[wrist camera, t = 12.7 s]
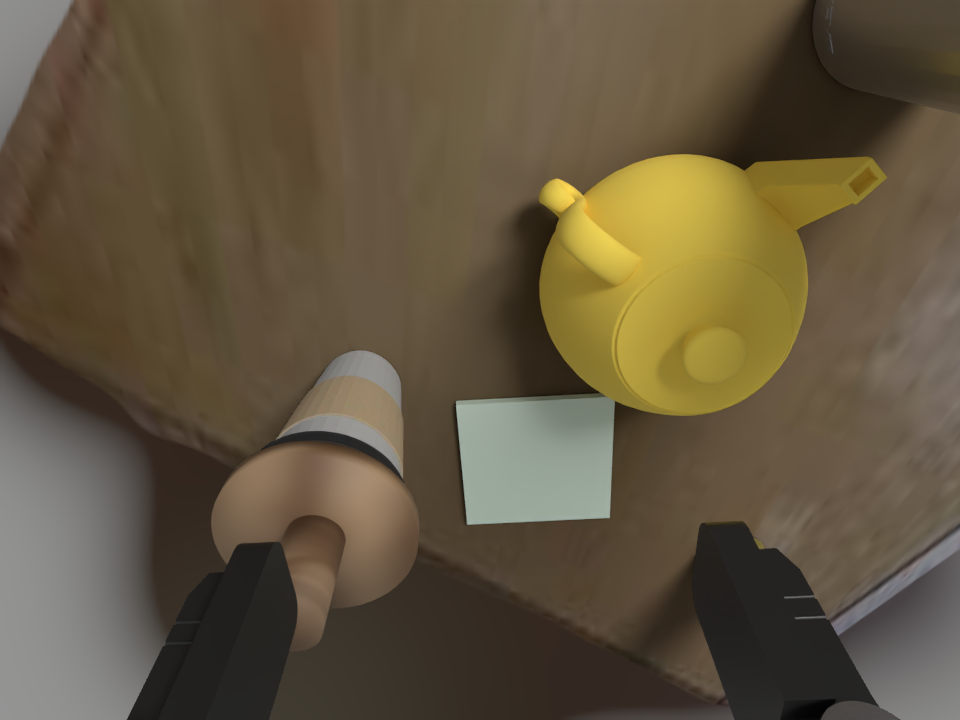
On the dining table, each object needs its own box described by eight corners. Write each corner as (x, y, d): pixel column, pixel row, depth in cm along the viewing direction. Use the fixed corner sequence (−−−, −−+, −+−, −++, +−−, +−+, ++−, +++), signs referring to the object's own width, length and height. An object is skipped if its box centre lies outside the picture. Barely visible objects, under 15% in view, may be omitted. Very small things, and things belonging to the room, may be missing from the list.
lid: (408, 435, 33) (392, 533, 27) (429, 588, 38) (419, 699, 32) (195, 446, 33) (131, 545, 27) (245, 596, 39) (201, 708, 33)
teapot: (653, 412, 50) (704, 528, 39) (461, 269, 45) (456, 357, 34) (872, 213, 43) (1011, 286, 32) (675, 11, 37) (760, 14, 26)
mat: (613, 392, 50) (614, 396, 49) (608, 512, 55) (609, 517, 55) (456, 400, 50) (455, 404, 49) (467, 519, 56) (467, 524, 55)
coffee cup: (389, 452, 52) (359, 603, 39) (279, 402, 50) (207, 545, 37) (446, 363, 48) (434, 498, 35) (329, 304, 46) (269, 425, 33)
